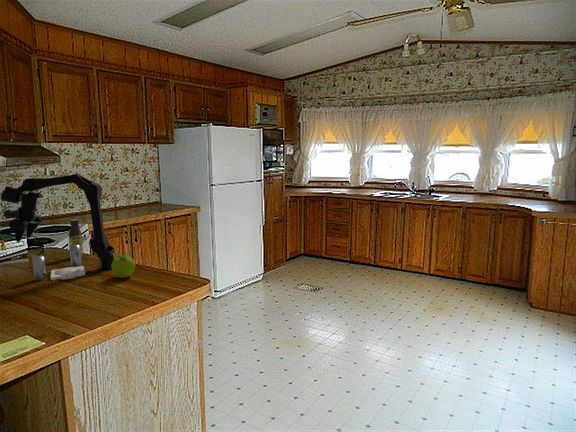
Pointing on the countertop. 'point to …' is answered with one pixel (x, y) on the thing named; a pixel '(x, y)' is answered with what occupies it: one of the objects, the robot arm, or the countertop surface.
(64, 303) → the countertop surface
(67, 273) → the scale
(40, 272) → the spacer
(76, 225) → the sauce bottle
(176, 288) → the countertop surface
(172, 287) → the countertop surface
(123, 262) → the fruit
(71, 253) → the cylinder
